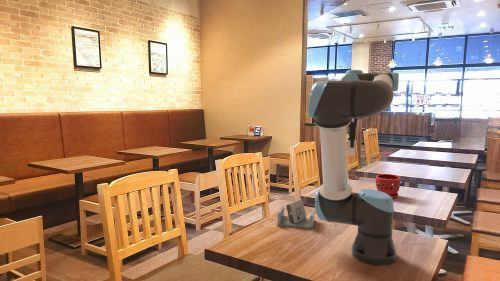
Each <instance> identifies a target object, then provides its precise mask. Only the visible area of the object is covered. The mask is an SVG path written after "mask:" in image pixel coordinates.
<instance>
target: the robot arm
mask: <svg viewBox="0 0 500 281" xmlns="http://www.w3.org/2000/svg"><path fill="white" fill-rule="evenodd" d="M399 82H400V75H399V73H398V72H390V71H389V72H363V70H361V69H348V70H346V71H345V73H344V75H342V77H341V78H340V80H326V81H325V80H323V81H316V82H315V83H314V84H313V85H312V87H311V88H310V92H309V97H308V102H307V114H308V117H309V118H311V119H314V125H315V126H317V127H318V128H319V135H320V136H319V137H320V151H321V152H320V153H321V165H322V166H321V170H322V184H321V185H320V186H319V188H318V189H317V190H316V192H315V195H314V196H315V198H314V202H315V203H314V208H315V214H316V216H317V218H318V219H319V220H321V221H324V222H328V223H336V224H345V225H350V226H357V233H356V236H355V238H354V241H353V243H352V246H351V254H352V256H353V257H354V258H356V259H357V260H358V261H360V262H364V263H365V264H371V265H376V266H377V265H380V266H382V265H383V266H385V265H386V266H387V265H390V264H393V263H394V262H396V260H397V250H396V247H395V242H394V239H393V221H394V220H393V219H394V211H395V209H394V198H392V197H391V196H390V195H388V194H386V193H384V192H381V191H378V190H377V189H373V188H362V189H360V190H359V191H358V192H353V188H352V185H350V184H349V182H348V177H349V176H348V156H355V155H356V140H357V136H356V132H357V131H356V129H357V125H358V119H366V118H370V117H373V116H376V115H379V114H380V113H382V112H384V111H385V110H387V109H389V107H390V106H391V104H392V103H393V100H394V92H397V91H399ZM347 127H348V133H347Z"/></svg>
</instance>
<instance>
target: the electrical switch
mask: <svg viewBox="0 0 500 281" xmlns="http://www.w3.org/2000/svg"><path fill="white" fill-rule="evenodd" d="M285 207H286V211H287V216H289V221H290V222H294V223H295V224H296V223H298V222H300V221H302V220H304V219H306V218H307V213H306V208H305V206H304V200H303V199H302V198H299V199H296V200H295V201H292V202H290V203H288V204H286V205H285Z"/></svg>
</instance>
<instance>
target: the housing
mask: <svg viewBox="0 0 500 281" xmlns="http://www.w3.org/2000/svg"><path fill="white" fill-rule="evenodd" d="M315 214H316V209H315V207H311V211H310V214H309V217H306V219H304V220H302V221H300V222H298V223H296V224H295V223H294V222H290V221H289V216H288V215H285V205H281V206H280V208H279V210H278V211H277V227H287V228H294V229H295V228H298V229H308V230H313V229H314V225H315V218H316V217H315V216H316V215H315Z"/></svg>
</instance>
